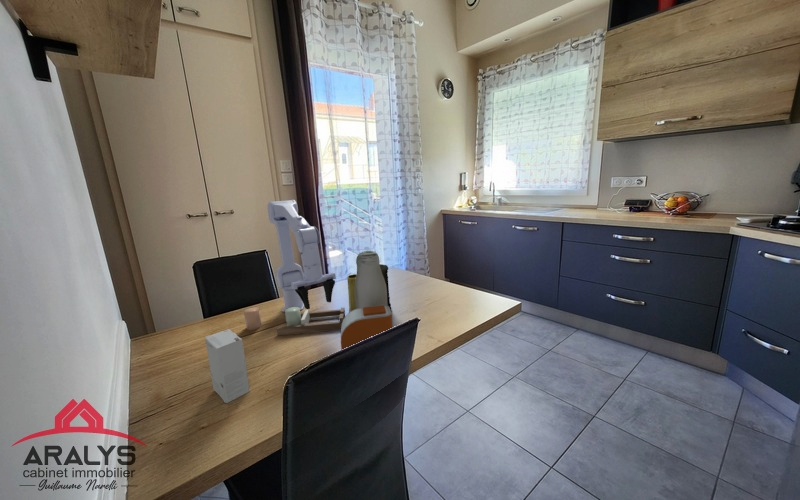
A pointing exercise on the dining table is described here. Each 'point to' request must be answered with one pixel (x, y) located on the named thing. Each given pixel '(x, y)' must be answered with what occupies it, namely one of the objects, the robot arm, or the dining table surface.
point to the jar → (252, 318)
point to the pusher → (307, 318)
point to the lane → (316, 326)
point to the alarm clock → (364, 324)
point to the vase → (351, 292)
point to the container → (386, 281)
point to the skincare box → (227, 365)
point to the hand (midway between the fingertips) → (318, 305)
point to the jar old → (293, 316)
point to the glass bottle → (369, 281)
